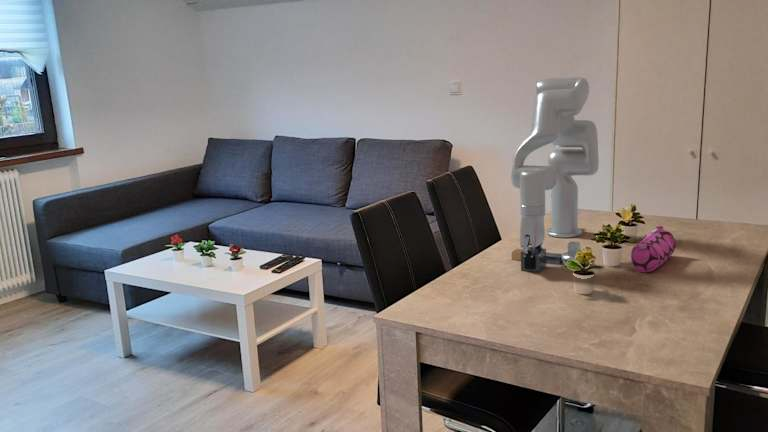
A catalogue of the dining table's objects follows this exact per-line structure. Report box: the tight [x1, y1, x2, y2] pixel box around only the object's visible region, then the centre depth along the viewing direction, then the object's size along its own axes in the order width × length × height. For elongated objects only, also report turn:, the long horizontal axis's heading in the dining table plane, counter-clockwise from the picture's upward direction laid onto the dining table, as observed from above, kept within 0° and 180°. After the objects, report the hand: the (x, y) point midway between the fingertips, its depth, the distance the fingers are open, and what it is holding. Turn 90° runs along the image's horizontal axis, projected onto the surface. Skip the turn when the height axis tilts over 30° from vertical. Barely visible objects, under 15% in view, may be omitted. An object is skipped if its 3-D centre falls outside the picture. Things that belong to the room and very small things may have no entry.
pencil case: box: [630, 225, 677, 274], centre depth 204 cm, size 21×10×10 cm, turn 146°
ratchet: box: [511, 241, 581, 267], centre depth 213 cm, size 24×8×7 cm, turn 58°
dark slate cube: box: [520, 248, 547, 273], centre depth 206 cm, size 6×6×6 cm
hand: (533, 265), depth 207 cm, fingers closed on dark slate cube, 6 cm apart
